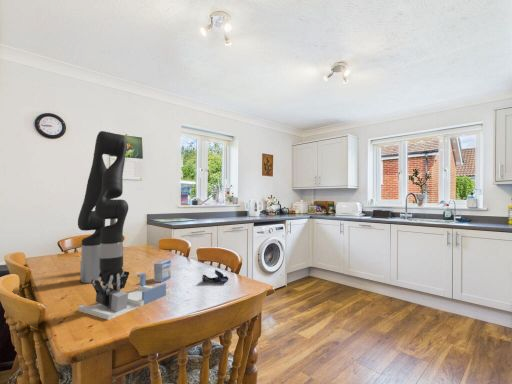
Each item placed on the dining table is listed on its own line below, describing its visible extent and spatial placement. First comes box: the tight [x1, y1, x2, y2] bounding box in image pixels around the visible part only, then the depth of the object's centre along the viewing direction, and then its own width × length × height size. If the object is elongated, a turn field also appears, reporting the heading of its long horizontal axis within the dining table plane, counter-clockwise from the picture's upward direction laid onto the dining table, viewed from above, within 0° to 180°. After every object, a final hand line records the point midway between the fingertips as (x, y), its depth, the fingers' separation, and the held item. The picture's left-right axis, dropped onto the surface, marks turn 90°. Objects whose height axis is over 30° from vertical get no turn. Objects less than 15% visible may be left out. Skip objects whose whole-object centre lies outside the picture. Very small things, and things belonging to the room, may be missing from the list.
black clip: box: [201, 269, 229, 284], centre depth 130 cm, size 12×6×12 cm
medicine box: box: [153, 259, 172, 283], centre depth 133 cm, size 8×4×9 cm, turn 168°
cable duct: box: [77, 272, 170, 321], centre depth 104 cm, size 16×26×7 cm, turn 154°
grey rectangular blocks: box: [95, 287, 129, 312], centre depth 98 cm, size 12×4×5 cm, turn 63°
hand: (111, 303), depth 98 cm, fingers closed on grey rectangular blocks, 3 cm apart
